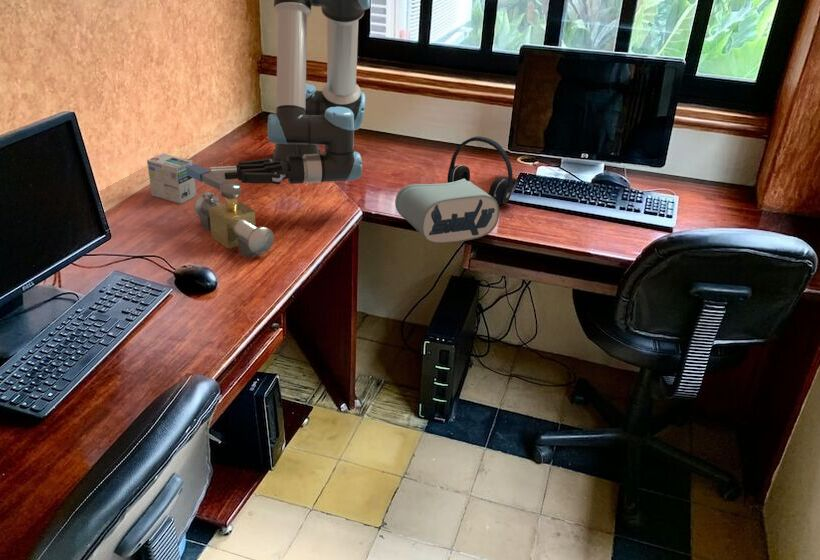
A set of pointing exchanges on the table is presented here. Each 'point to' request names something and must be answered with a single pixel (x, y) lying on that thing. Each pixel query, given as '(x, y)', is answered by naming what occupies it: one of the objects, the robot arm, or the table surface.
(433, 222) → the grey rounded block
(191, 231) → the table surface
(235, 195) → the lever
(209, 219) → the valve body
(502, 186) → the headphones
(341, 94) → the robot arm
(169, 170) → the light bulb box
